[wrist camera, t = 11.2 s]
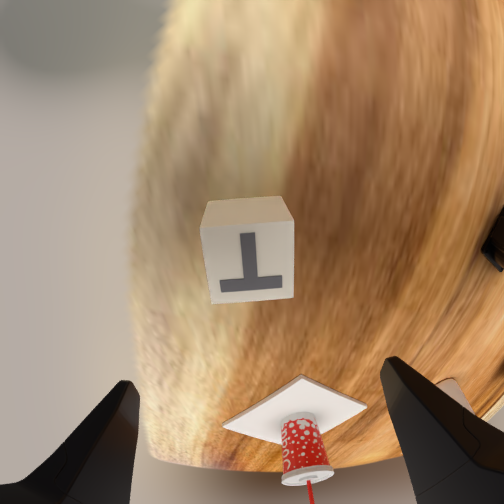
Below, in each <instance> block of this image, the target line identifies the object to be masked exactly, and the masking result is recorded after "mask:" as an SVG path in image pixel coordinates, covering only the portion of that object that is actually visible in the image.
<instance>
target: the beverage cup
mask: <svg viewBox="0 0 504 504" xmlns="http://www.w3.org/2000/svg"><path fill="white" fill-rule="evenodd" d="M281 438H282V457H283V475H282V484H284V485H289V486H299V485H307V488H308V494H309V500H310V504H314V498H313V492H312V486H311V484H312V483H316V482H320V481H322V480H325V479H327V478H329V477H331V476H332V475H333V474H334V471H333V467H332V466H330V464H329V461H328V457H327V454H326V451H325V447H324V444H323V441H322V437H321V434H320V431H319V427H318V424H317V421H316V418H315V415H314V414H313V413H310V412H297V413H293V414H290V415H288V416H286V417H284V418H283V419H282V420H281Z"/></svg>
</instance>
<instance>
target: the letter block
mask: <svg viewBox="0 0 504 504" xmlns="http://www.w3.org/2000/svg"><path fill="white" fill-rule="evenodd" d="M199 229H200V236H201V243H202V249H203V256H204V262H205V268H206V274H207V280H208V286H209V292H210V298H211V303H212V304H223V303H237V302H251V301H263V300H275V299H285V298H293V294H294V219H293V218H292V216H291V214H290V212H289V210H288V208H287V206H286V204H285V203H284V201H283V199H282V197H281V196H265V197H251V198H238V199H226V200H214V201H208V203H207V206H206V209H205V212H204V215H203V218H202V221H201V224H200V227H199Z"/></svg>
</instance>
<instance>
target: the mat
mask: <svg viewBox="0 0 504 504" xmlns="http://www.w3.org/2000/svg"><path fill="white" fill-rule="evenodd" d="M366 408H367V404H365V403H363V402H361V401H358V400H356V399H354V398H351V397H349V396H347V395H344V394H342V393H340V392H338V391H335V390H333V389H331V388H329V387H327V386H325V385H322V384H320V383H318V382H316V381H314V380H312V379H310V378H308V377H306V376H304V375H302V374H301V375H299V376H298V377H296V378H295V379H293V380H292V381H291V382H289V383H288V384H286V385H285V386H283V387H282V388H280V389H279V390H277V391H275V392H274V393H272V394H271V395H269V396H268V397H266V398H264V399H263V400H261V401H260V402H258V403H256V404H255V405H253V406H251V407H250V408H248V409H246V410H245V411H243V412H241V413H240V414H238V415H236V416H234V417H233V418H231V419H229V420H227V421H225V422H224V423H222V427H224V428H227V429H230V430H233V431H236V432H239V433H242V434H245V435H248V436H252V437H255V438H259V439H262V440H266V441H270V442H274V443H278V444H282V438H281V420H282V419H283V418H284V417H286V416H288V415H290V414H293V413H297V412H310V413H313V414H314V415H315V418H316V421H317V424H318V427H319V431H320V434H322V433H324V432H326V431H328V430H330V429H332V428H334V427H335V426H337V425H339V424H341V423H342V422H344V421H346V420H348V419H349V418H351V417H353V416H354V415H356V414H358V413H359V412H361V411H362V410H364V409H366Z"/></svg>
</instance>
